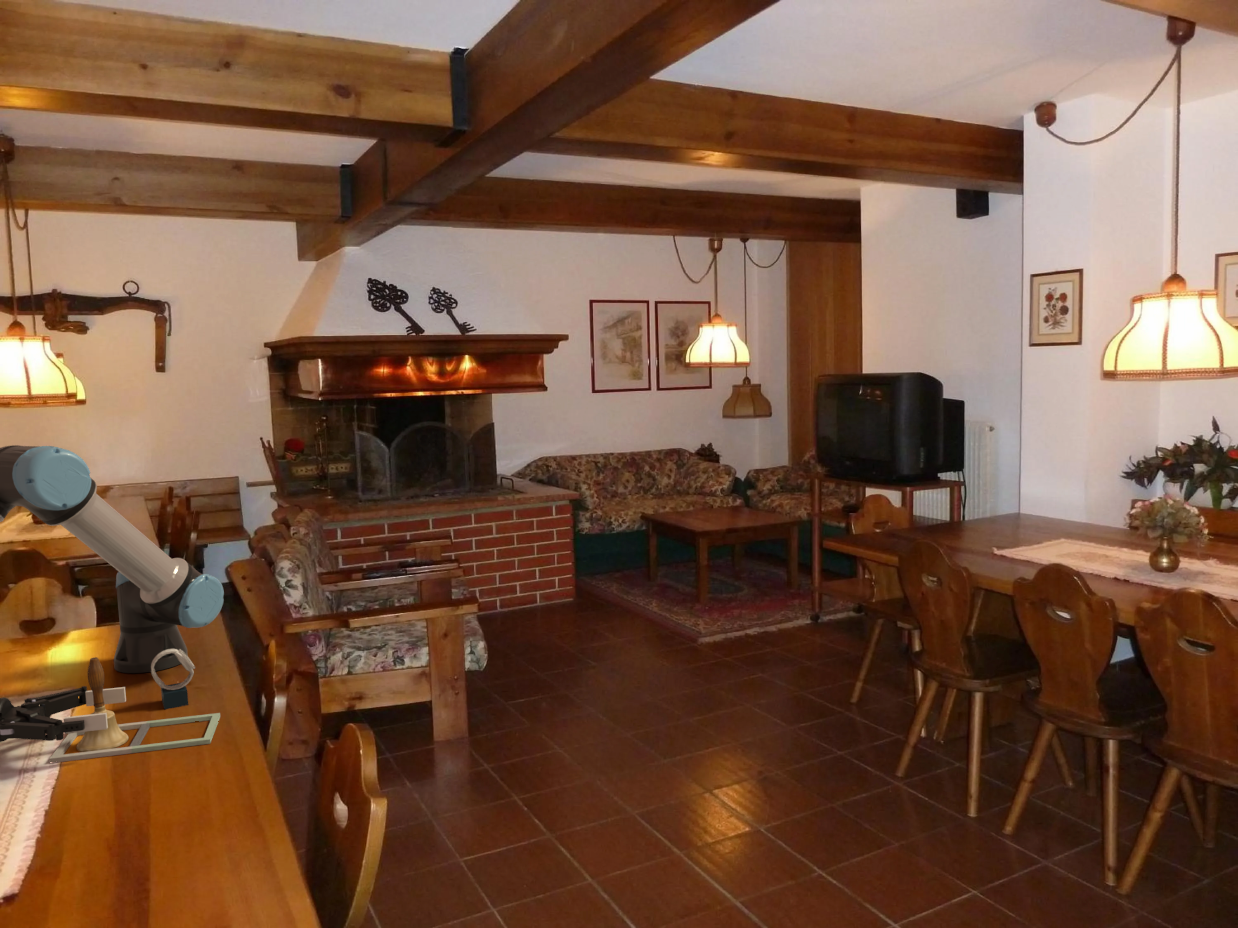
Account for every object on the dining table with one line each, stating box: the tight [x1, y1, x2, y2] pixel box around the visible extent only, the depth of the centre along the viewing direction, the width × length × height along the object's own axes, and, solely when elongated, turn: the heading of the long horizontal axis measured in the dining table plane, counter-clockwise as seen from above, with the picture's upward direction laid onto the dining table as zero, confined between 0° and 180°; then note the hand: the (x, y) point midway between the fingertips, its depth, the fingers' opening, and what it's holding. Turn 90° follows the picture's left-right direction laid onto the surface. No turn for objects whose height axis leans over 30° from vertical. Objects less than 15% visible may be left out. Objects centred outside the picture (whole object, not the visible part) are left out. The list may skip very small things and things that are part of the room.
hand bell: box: [75, 656, 129, 753], centre depth 168 cm, size 8×8×16 cm
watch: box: [150, 649, 196, 710], centre depth 188 cm, size 6×8×11 cm
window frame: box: [49, 712, 221, 763], centre depth 170 cm, size 13×26×1 cm, turn 106°
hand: (116, 706), depth 168 cm, fingers open, 13 cm apart
